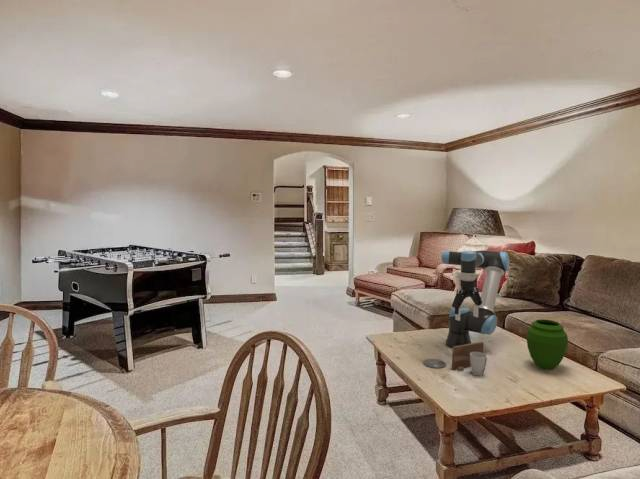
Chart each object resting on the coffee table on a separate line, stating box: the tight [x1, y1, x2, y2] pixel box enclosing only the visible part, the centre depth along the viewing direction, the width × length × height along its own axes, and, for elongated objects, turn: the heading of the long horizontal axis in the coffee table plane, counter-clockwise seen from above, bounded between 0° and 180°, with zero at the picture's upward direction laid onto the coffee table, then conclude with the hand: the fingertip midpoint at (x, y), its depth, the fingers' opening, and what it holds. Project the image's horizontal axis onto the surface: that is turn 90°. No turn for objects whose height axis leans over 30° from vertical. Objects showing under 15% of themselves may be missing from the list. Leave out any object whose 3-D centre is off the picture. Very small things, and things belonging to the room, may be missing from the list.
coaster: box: [422, 358, 447, 370], centre depth 220 cm, size 12×12×1 cm
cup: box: [470, 352, 488, 377], centre depth 207 cm, size 8×8×10 cm
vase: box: [525, 319, 569, 371], centre depth 214 cm, size 20×20×24 cm
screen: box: [450, 341, 485, 372], centre depth 216 cm, size 6×20×12 cm, turn 114°
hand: (466, 318), depth 220 cm, fingers open, 13 cm apart
